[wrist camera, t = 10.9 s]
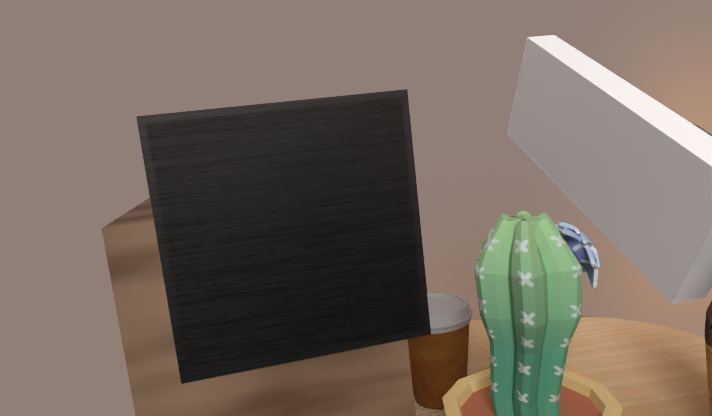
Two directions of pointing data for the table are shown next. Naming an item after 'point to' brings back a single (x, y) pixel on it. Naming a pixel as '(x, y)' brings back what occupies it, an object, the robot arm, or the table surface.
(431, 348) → the disposable coffee cup
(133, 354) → the walnut post
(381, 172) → the white bar dark ends
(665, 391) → the table surface
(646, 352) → the table surface
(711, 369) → the sauce bottle
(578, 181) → the robot arm
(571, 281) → the potted cactus
